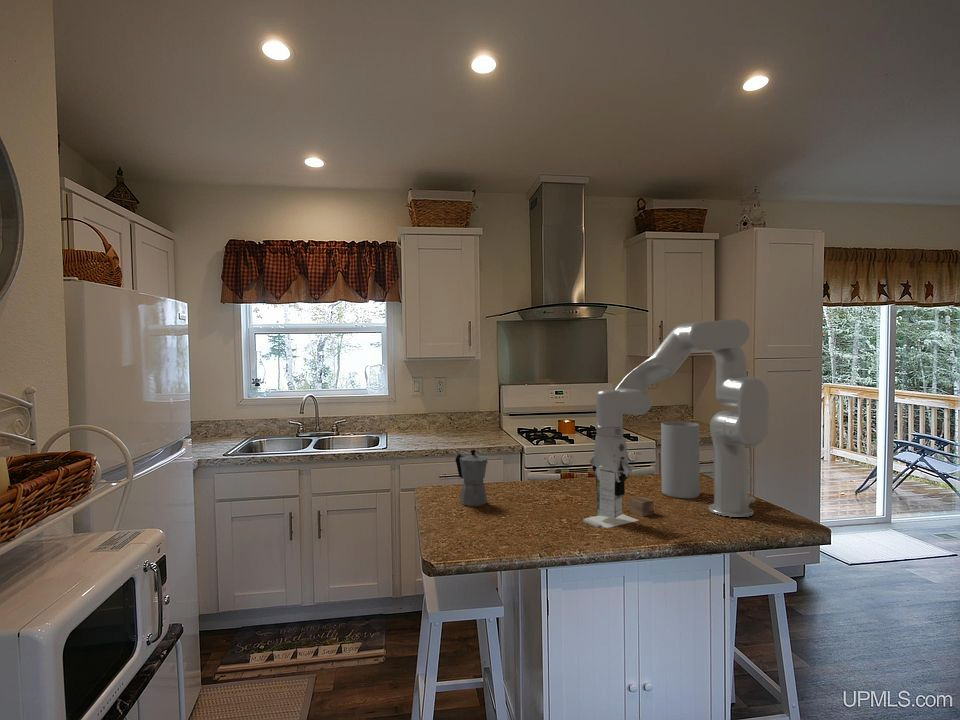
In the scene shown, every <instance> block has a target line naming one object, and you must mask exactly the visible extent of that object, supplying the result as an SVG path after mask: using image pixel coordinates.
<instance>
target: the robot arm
mask: <svg viewBox="0 0 960 720" xmlns="http://www.w3.org/2000/svg"><path fill="white" fill-rule="evenodd" d="M750 335H751V330H750V328H749V326H748V324H747V323H746V322H745V321H743V320H742V319H738V318H732V319H731V318H730V319H721V320H710V321H709V320H708V321H694V322H693V321H692V322H686V323H685V322H684V323H680V324H678V325H676V326H675V327H674V328H673V329H672V330H671V331H670V332H669V333H668V334H667V336H666V337H665V338H664V339H663V341H662V342H661V343H660V344H659V346H658V347H657V348H656V349H655V351H654V352H653V353H652V354H651V355H650V356H649V358H647V359H645V360H644V361H643V362H642V363H640V364H639V365H638V366H637V367H635V368H634V369H632V370H631V371H630V372H629V373H628V374H627V375H625V377H624V378H623V379H622V380H621V381H620V383H619V384H618V385H617V386H616V387H615V389H602V390H598V391H597V392H596V401H595V402H596V403H595V405H596V414H595V415H596V435H595V438H594V446H593V457H592V458H591V459H590V460H589V463H590V465H591V467H592V470H593V472H594V476H595V487H596V488H595V490H597V467H598V466H604V467H608V468H610V469H611V471H612V472H615V478H616V481H617V482H615V495H616V496H620V495H623V496H624V495H625V491H626V490H625V488H626V487H625V482H627V479H628V478H629V477H630V475H631V473H632V472H633V470H632V468H631V467H630V465H629V456H628V455H629V454H628V447H627V441H626V438H625V437H624V434H625V430H624V427H623V425H624V423H623V421H624V420H623V419H624V418H623V415H624V414H625V415H634V416H639V415H640V416H641V415H645V414H646V413H648V412H649V411H650V409H651V408H652V405H653V401H652V397H651V396H650V394H649V393H648V392H646V391H645V390H647V388H649V387H650V386H652V385H654V384H656V383H658V382H661V381H664V380H666V379H668V378H670V377H671V376H673V375H674V374H676V372H677V370H678V369H680V367H681V366H682V364H683V363H684V362H685V361H686V359H687V358H688V357H689V356H690V354H692V352H694V351H695V352H696V351H697V352H698V351H710V352H711V353H712V355H713V357H714V360H715V367H716V368H715V369H716V372H715V374H716V377H715V378H716V379H715V397H716V401H717V402H718V403H720V404H721V405H723V406H726V407H731V408H738V411H736V410H735V411H734V410H721V411H718V412H716V413H715V414H714V415H713V416H712V417H711V420H710V422H709V431H710V436H711V441H712V445H713V446H712V449H713V503H711V504H709V505H708V511H709V512H710V513H712V514H714V513H715V514H714V515H717V514H718V516H720V515H722V516H721V517H725V516H729V517H728V518H731V517H748V518H750V517H749V516H752V515H753V514H755V512H754V510H753V509H752V508H751V507H750V506H749V505H751V504H754V503H756V498H755V497H754V496H749V493H748V492H749V490H748V489H749V483H748V482H749V481H748V479H749V477H748V476H749V475H748V474H749V473H748V470H749V469H748V462H749V460H748V459H749V458H748V452H747V449H746V447H745V446H748V447H757V446H759V445H761V444H763V443H764V441H765V440H766V438H767V436H768V431H769V417H770V414H769V413H770V411H769V409H770V408H769V407H770V394H769V391H768V388H767V386H766V384H765V382H763V381H762V380H761V379H759V378H756V377H754V376H753V377H752V376H748V371H747V369H748V368H747V358H746V355H745V352H744V350H743V349H742V346H744V345H745V344H746V343H747V342H748V341H749V339H750ZM618 470H619V471H618ZM618 473H620V475H621V476H620V477H619V474H618ZM753 516H754V515H753ZM753 516H752V517H753Z"/></svg>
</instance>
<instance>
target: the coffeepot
mask: <svg viewBox="0 0 960 720" xmlns="http://www.w3.org/2000/svg"><path fill="white" fill-rule="evenodd" d="M476 451H477V450H476V449H474V448H473V449H471V450H470V453H471V454H470V455H469V454H468V455H467V454H462V453H458V454H457V456H455V464H456V468H457V472H458V477H459V478H461V479H463V483H462V487H461V492H460V493H461V494H460V500H459V503H460V504H461V503H462V504H463V505H462V504H461V505H462V506H465V505H467V506H466V507H481V506H484V505H486V504H487V503H488V498H487V492H486V486H485V483H484V479H485V477H486V470H487V464H488V462H489V461H488V457H485V456H482V455H478V454H476Z"/></svg>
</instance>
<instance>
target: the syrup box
mask: <svg viewBox="0 0 960 720" xmlns="http://www.w3.org/2000/svg"><path fill="white" fill-rule="evenodd" d="M618 471H619V470H618ZM618 474H619V477H620V476H621V475H620V473H618ZM615 482H617V481H616V478H615V472H612V471H611V469H610V468H608V467H604V466H598V467H597V489H596V516H604V517H610V518H616V517H618V516H620V515H621V514H623V515H624V513H623V511H624V510H623V509H624V499H623V498H624V495H620V496H616V495H615Z"/></svg>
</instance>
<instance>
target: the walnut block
mask: <svg viewBox="0 0 960 720" xmlns="http://www.w3.org/2000/svg"><path fill="white" fill-rule="evenodd" d="M629 513H632V514H634V515H637V516H640V517H646V516H650V515H654V514H655V500H654V499H650V498H648V497H644V496H637V497H633V498H629Z"/></svg>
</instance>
